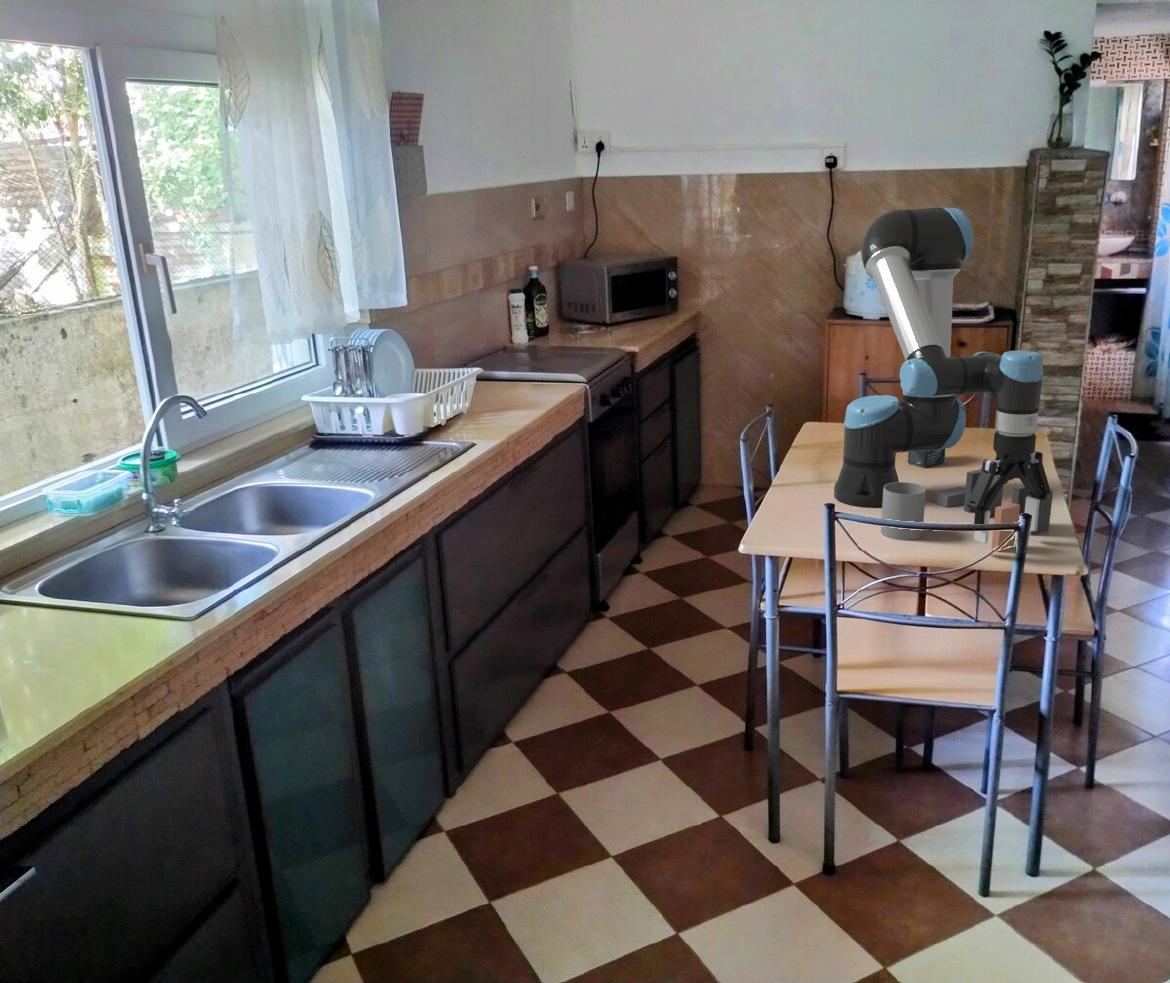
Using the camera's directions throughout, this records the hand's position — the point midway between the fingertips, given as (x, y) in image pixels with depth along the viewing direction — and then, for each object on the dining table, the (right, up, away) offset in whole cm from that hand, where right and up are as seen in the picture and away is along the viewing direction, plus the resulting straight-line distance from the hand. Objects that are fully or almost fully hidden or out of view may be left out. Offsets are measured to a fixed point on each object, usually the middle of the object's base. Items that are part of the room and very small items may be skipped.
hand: (1005, 535), depth 201 cm
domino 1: (+3, +5, +24) cm, 24 cm away
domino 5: (+10, 0, +9) cm, 14 cm away
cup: (-17, 0, +11) cm, 21 cm away
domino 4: (+8, +1, +13) cm, 15 cm away
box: (+4, +16, +58) cm, 60 cm away
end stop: (0, +6, +29) cm, 30 cm away
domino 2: (+5, +4, +20) cm, 21 cm away
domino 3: (0, -3, +1) cm, 3 cm away
